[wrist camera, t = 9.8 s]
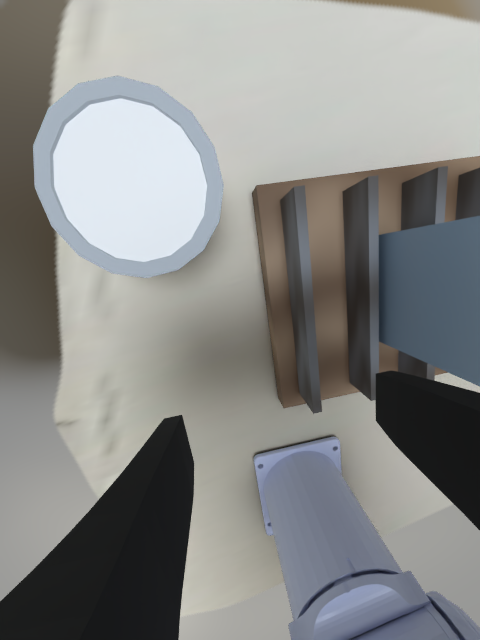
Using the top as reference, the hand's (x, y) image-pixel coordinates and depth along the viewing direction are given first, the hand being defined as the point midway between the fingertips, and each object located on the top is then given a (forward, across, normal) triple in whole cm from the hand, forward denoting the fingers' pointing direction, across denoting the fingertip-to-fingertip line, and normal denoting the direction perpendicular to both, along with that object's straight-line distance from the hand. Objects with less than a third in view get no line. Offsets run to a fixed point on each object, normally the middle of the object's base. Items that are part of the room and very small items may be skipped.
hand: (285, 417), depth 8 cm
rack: (+10, -10, -2) cm, 14 cm away
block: (+8, -10, -2) cm, 13 cm away
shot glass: (+10, +4, -9) cm, 14 cm away
